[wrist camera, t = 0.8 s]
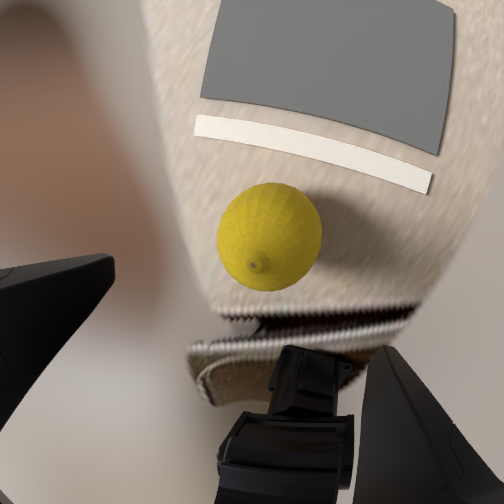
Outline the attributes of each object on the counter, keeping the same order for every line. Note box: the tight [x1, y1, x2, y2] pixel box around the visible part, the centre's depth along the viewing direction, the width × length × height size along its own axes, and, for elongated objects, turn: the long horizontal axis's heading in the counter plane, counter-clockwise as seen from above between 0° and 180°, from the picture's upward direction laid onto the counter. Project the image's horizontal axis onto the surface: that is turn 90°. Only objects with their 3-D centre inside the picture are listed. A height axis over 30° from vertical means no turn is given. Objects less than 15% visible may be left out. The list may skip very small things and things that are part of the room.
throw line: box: [194, 115, 432, 194], centre depth 16 cm, size 2×16×1 cm, turn 80°
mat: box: [200, 0, 453, 155], centre depth 13 cm, size 12×16×1 cm
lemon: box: [217, 183, 322, 291], centre depth 15 cm, size 6×6×8 cm
